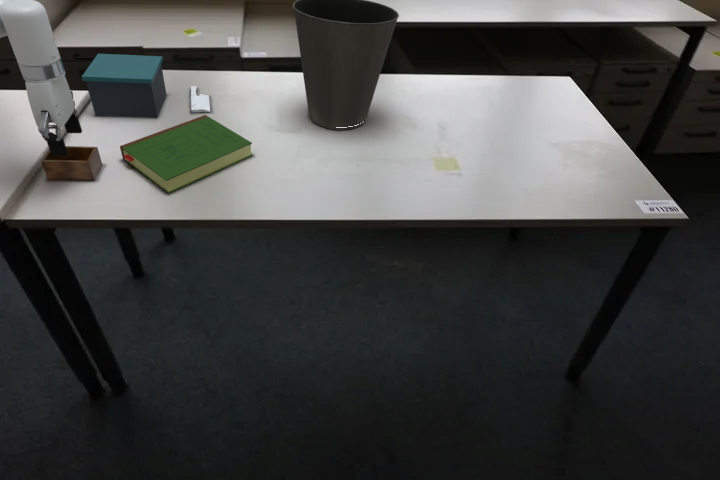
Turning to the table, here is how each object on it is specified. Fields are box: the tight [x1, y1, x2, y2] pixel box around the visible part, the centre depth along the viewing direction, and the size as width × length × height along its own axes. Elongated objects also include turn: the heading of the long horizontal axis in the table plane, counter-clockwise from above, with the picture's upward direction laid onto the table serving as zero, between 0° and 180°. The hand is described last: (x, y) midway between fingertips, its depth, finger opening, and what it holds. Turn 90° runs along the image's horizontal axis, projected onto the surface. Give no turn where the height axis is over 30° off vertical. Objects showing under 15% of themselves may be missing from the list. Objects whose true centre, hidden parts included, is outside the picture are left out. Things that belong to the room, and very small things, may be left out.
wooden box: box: [40, 145, 103, 182], centre depth 117 cm, size 10×6×5 cm, turn 96°
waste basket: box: [292, 0, 400, 131], centre depth 140 cm, size 27×20×30 cm
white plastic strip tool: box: [190, 85, 211, 113], centre depth 149 cm, size 5×15×1 cm, turn 14°
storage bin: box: [81, 53, 167, 119], centre depth 141 cm, size 17×15×11 cm
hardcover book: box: [119, 114, 254, 194], centre depth 126 cm, size 25×19×4 cm
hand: (67, 143), depth 113 cm, fingers open, 9 cm apart
